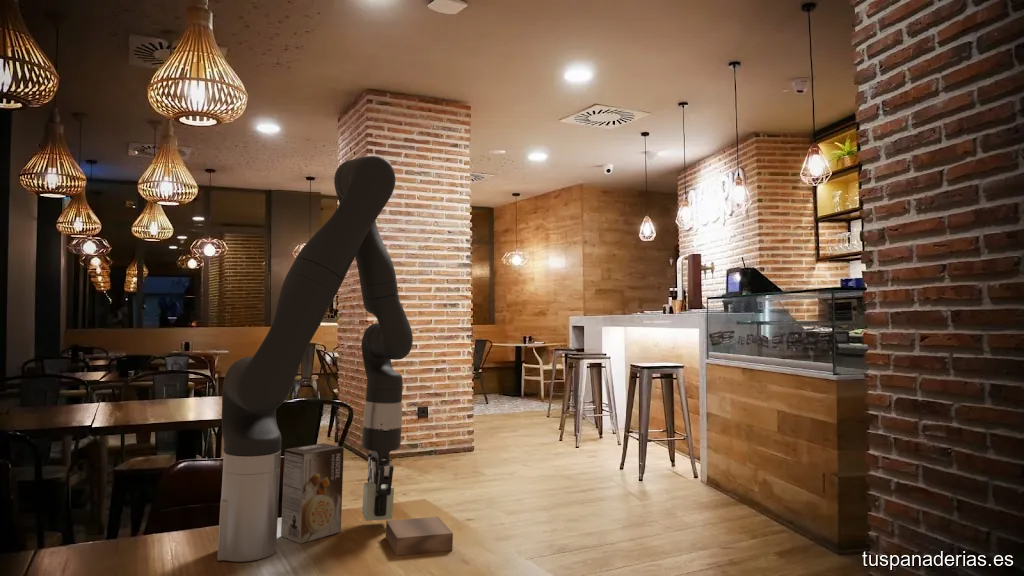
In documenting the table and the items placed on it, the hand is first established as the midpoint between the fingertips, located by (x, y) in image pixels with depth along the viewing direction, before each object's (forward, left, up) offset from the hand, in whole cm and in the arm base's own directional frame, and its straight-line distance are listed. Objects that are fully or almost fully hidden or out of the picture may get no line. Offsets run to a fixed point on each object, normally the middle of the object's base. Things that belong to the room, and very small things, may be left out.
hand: (377, 511), depth 131 cm
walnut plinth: (+5, -12, -3) cm, 14 cm away
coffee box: (-13, -2, -3) cm, 13 cm away
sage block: (0, 0, -1) cm, 1 cm away
